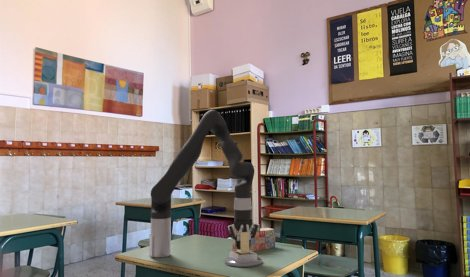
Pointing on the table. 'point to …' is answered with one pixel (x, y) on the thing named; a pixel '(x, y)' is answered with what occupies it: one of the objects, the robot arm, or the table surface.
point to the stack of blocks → (260, 239)
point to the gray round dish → (243, 259)
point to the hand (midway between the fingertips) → (243, 248)
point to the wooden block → (244, 243)
